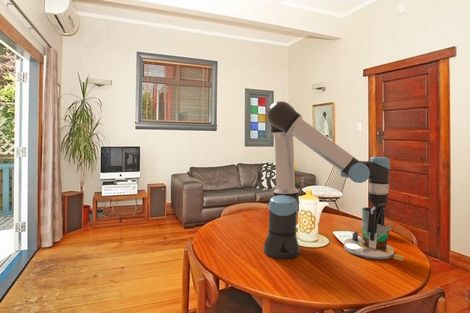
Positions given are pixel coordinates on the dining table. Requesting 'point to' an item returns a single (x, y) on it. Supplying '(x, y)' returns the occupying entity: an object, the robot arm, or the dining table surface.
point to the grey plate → (366, 249)
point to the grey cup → (365, 214)
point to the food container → (381, 235)
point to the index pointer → (398, 257)
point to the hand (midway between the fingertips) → (375, 245)
